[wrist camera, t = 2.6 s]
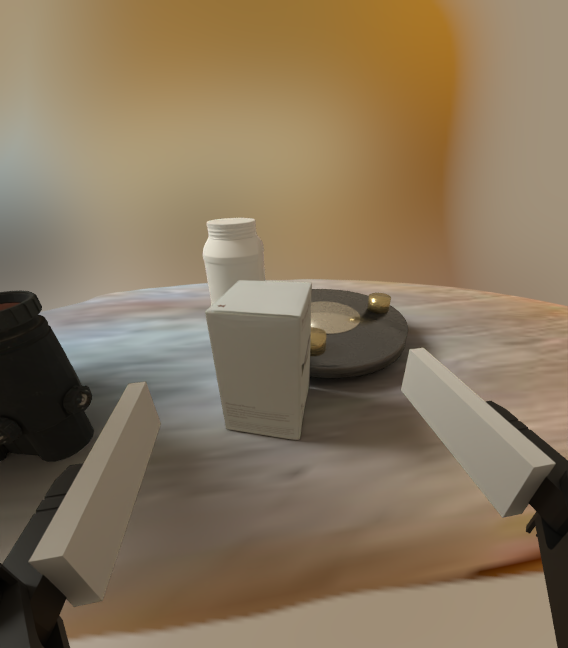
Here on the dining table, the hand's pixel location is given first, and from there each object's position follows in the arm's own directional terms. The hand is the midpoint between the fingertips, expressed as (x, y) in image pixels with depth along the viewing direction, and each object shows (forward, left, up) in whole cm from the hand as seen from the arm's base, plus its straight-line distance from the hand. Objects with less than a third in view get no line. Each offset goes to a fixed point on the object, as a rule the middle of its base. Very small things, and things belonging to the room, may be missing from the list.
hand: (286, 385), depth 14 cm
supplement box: (-5, +9, -12) cm, 15 cm away
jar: (-20, +34, -12) cm, 41 cm away
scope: (-23, 0, -12) cm, 25 cm away
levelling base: (-2, +24, -11) cm, 27 cm away
